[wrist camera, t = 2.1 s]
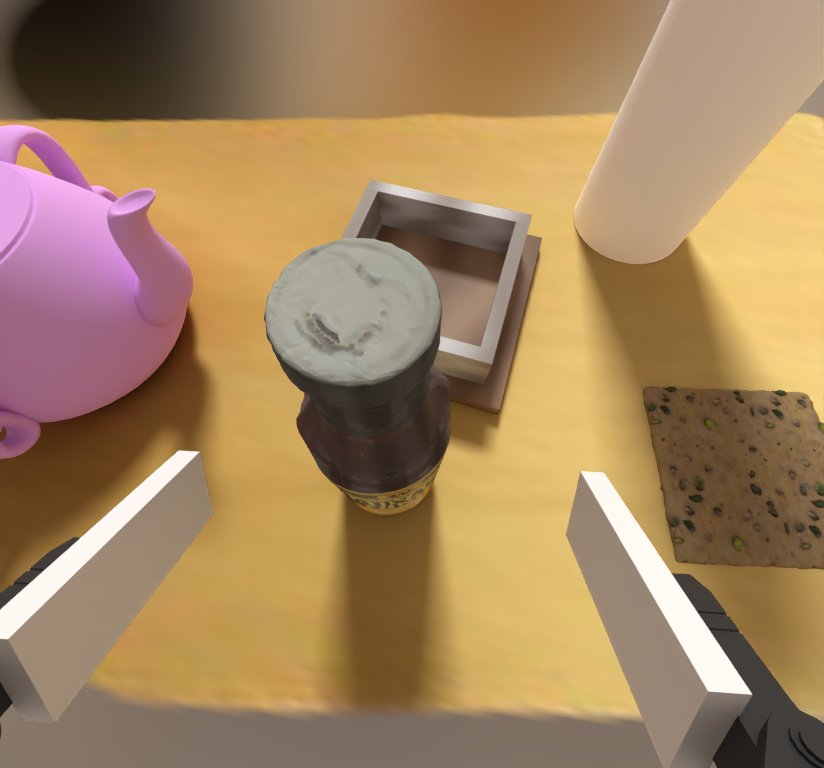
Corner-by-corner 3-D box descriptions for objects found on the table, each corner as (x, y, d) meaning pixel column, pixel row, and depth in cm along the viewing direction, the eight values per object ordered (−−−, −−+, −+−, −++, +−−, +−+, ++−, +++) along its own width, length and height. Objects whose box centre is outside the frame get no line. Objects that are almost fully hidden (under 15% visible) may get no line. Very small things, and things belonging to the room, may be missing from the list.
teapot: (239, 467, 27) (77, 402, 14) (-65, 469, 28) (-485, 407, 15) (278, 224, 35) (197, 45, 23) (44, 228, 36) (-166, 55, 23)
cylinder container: (572, 178, 37) (1048, -951, 9) (676, 187, 36) (1540, -1007, 8) (574, 258, 33) (1360, -1186, 5) (688, 269, 33) (2247, -1309, 5)
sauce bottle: (357, 529, 25) (193, 499, 7) (336, 440, 28) (168, 241, 9) (452, 498, 26) (528, 396, 8) (423, 413, 28) (428, 177, 10)
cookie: (671, 565, 25) (681, 566, 24) (637, 388, 29) (644, 383, 28) (867, 574, 24) (884, 575, 23) (801, 393, 29) (814, 388, 28)
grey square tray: (295, 355, 30) (275, 326, 26) (366, 206, 36) (359, 162, 32) (496, 413, 28) (510, 391, 24) (538, 246, 34) (555, 204, 30)
